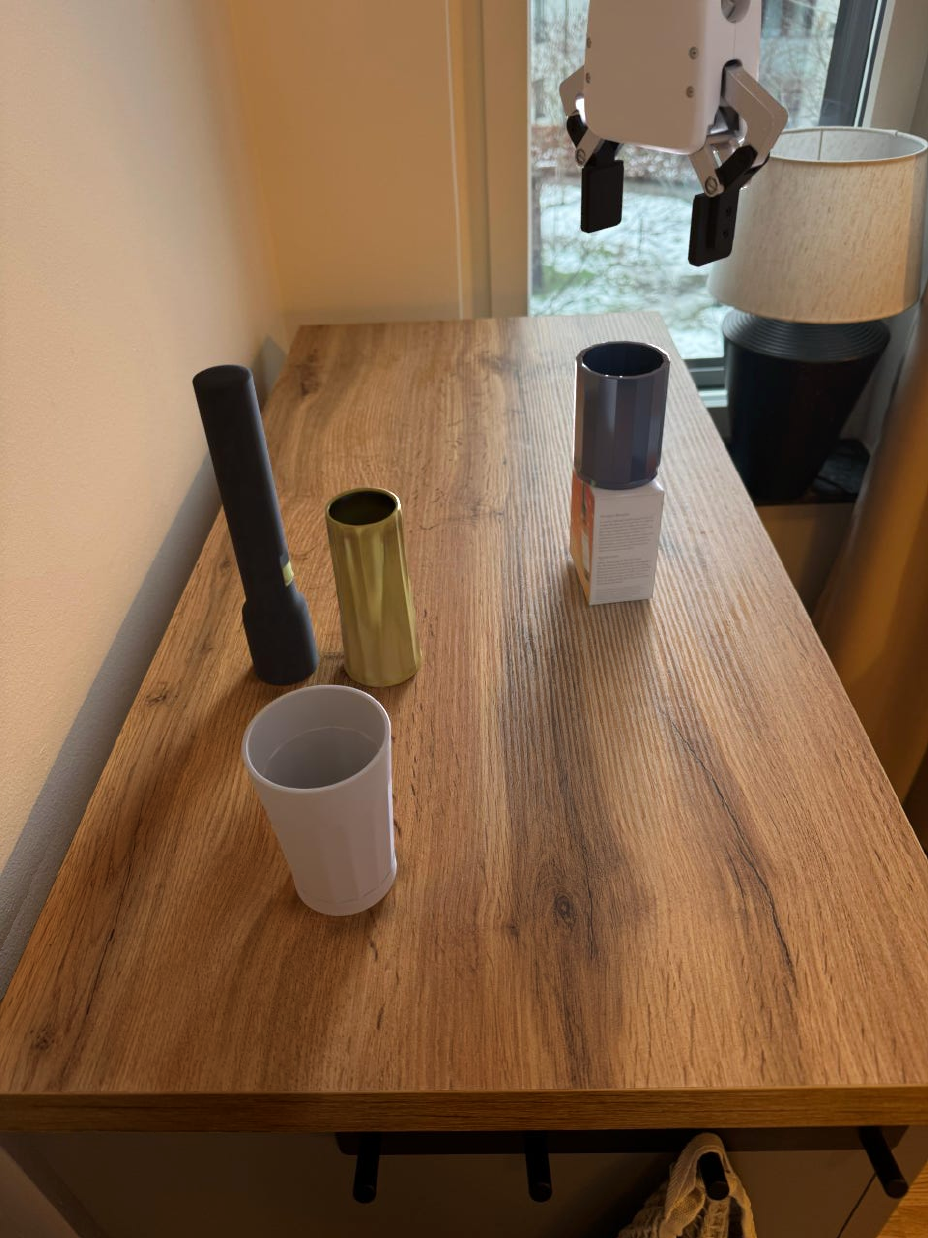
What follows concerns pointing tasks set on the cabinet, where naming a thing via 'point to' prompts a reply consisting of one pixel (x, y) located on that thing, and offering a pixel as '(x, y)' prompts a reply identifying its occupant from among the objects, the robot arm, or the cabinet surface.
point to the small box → (615, 540)
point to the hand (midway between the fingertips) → (652, 243)
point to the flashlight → (255, 527)
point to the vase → (373, 587)
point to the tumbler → (619, 413)
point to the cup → (327, 793)
